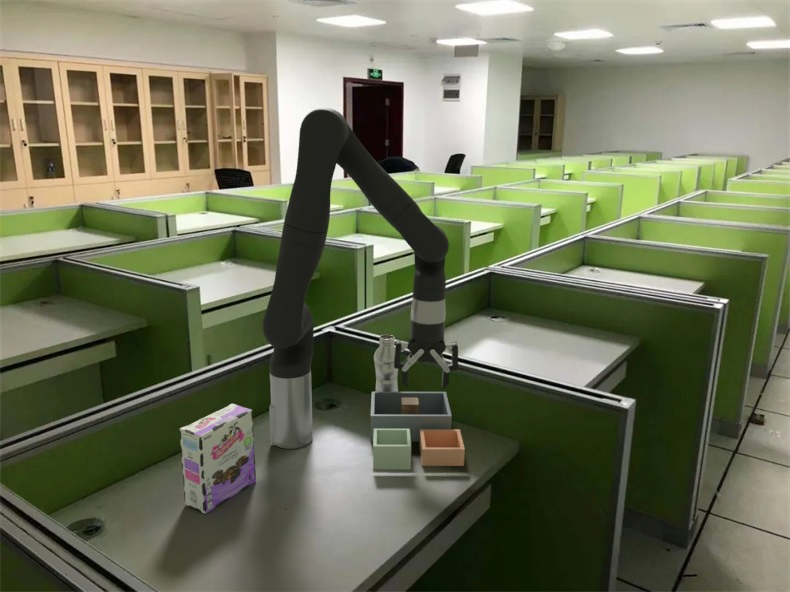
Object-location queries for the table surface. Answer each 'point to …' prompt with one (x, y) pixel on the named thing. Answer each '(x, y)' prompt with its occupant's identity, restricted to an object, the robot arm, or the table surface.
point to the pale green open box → (391, 449)
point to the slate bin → (430, 415)
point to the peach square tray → (441, 447)
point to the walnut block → (410, 406)
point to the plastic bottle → (386, 365)
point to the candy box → (217, 457)
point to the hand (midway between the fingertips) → (424, 386)
